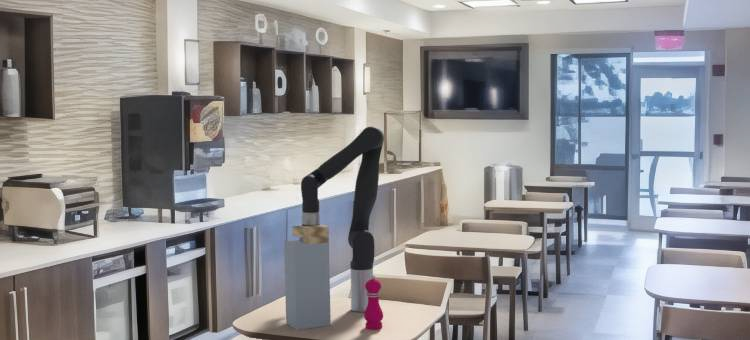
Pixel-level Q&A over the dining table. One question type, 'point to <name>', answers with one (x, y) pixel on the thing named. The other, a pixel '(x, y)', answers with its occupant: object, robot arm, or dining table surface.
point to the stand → (307, 284)
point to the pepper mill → (373, 305)
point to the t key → (312, 233)
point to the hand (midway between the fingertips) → (311, 261)
